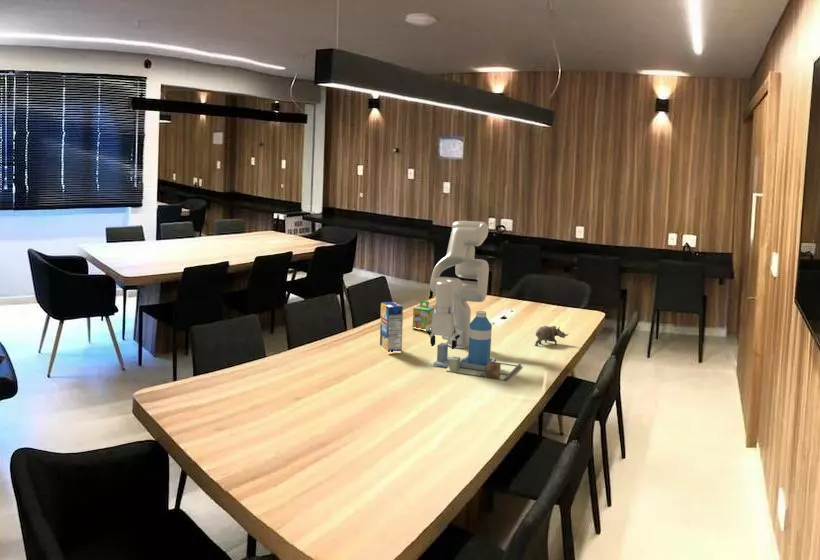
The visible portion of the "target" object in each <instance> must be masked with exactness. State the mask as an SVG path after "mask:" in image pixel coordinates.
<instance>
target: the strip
mask: <svg viewBox="0 0 820 560" xmlns="http://www.w3.org/2000/svg"><path fill="white" fill-rule="evenodd" d="M451 357H452V358H451V359H450V366H449V370H448V371H453V372H459V373H465V374H472V375H475V373H476V372H477V371H476V370H469V369H463V368H460V358H461V357H459V356H451Z"/></svg>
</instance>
